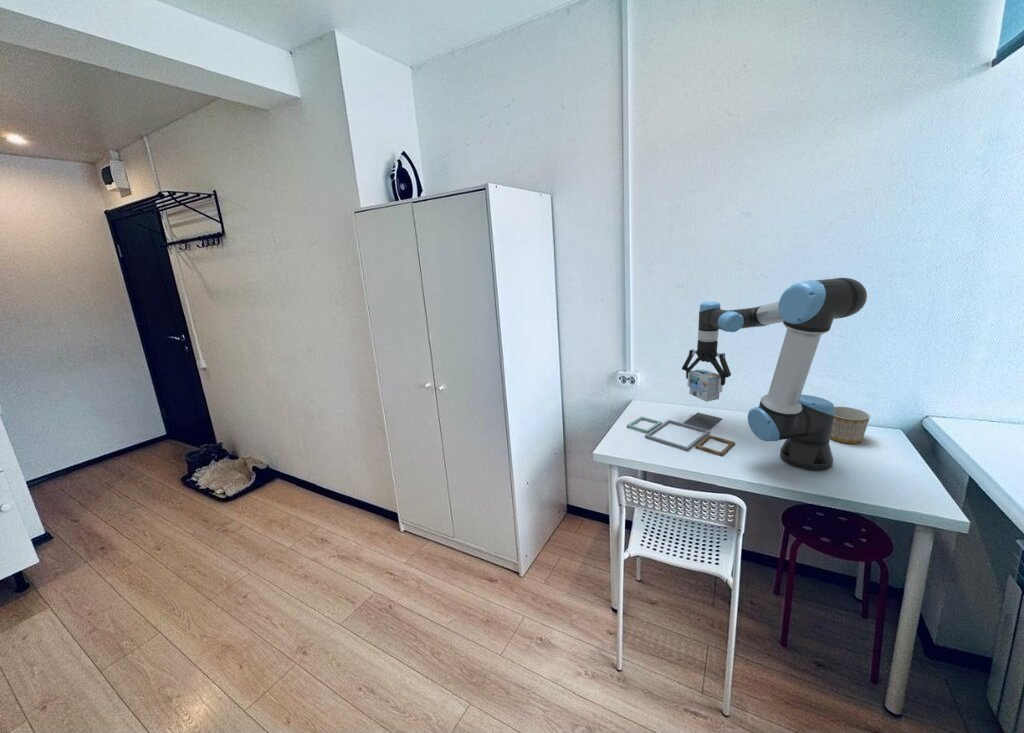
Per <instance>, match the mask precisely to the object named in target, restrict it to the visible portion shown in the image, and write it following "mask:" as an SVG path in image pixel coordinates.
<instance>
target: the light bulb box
mask: <svg viewBox="0 0 1024 733" xmlns="http://www.w3.org/2000/svg"><path fill="white" fill-rule="evenodd" d="M719 377H720V375H719V373H716V372H713V371H710V370H707V369H705V368H700V369H695V370H691V376H690V387H689V391H688V392H689V395H691V396H694V397H696V398H697V399H700V400H701V401H704V402H705V403H706V402H711V401H716V400H720V393H718V382H719Z"/></svg>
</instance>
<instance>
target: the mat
mask: <svg viewBox="0 0 1024 733" xmlns="http://www.w3.org/2000/svg"><path fill="white" fill-rule="evenodd" d="M721 421H723V418H722V417H719V416H713V415H711V414H706V413H701V412H696V413H694V414H693V415H692V416H691V417H689V418H688V419H686V420H685V421H683V422H682V423H684V424H688V425H691V426H695V427H699V428H703V429H707V430H710V431H711V429H712V428H714V427H715V426H716V425H717V424H719V423H720V422H721Z"/></svg>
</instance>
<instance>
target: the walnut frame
mask: <svg viewBox="0 0 1024 733" xmlns="http://www.w3.org/2000/svg"><path fill="white" fill-rule="evenodd" d="M709 440H711V441H712V440H713V441H717V442H720V443H723V444H727V446H725V448H723V449H722V450H721V451H720V450H717V449H713V448H710V447H706V446H703V445H704V444H706V443H707V442H708V441H709ZM735 446H736V441H733V440H731V439H726V438H722V437H719V436H715V435H712V434H709V435H707V436H706V437H705V438H704V439H702V440H701V441H700V442H699V443H698V444H696V445H695V446H694V448H695V450H696V449H697V450H699V451H703V452H707V453H709V454H714V455H716V456H720V457H724V455H726V454H727V453H728V452H729V451H730V450H732V448H733V447H735Z"/></svg>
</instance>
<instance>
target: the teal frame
mask: <svg viewBox="0 0 1024 733" xmlns="http://www.w3.org/2000/svg"><path fill="white" fill-rule="evenodd" d="M641 421H645V422H648V423H652V424H653V425H652V426H651V427H649V428H647V429H645V428H642V427H639V426H635V425H637V424H638V423H640V422H641ZM661 424H663V421H660V420H658V419H657V420H656V419H653V418H650V417H645V416H642V415H640V416H639V417H638V418H636V419H634V420H633V421H631V422H629V423H628V424H626V428H627V429H631V430H634V431H636V432H640V433H644V434H647V433H649V432H651V431H652V430H654V429H655V428H657V427H658V426H660V425H661Z"/></svg>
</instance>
